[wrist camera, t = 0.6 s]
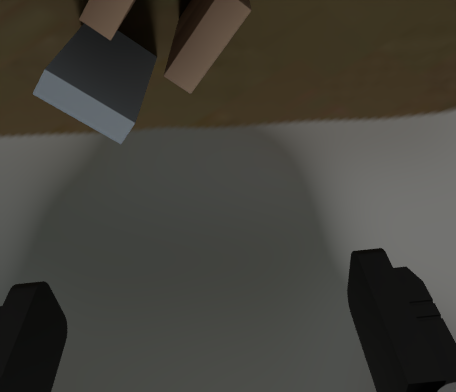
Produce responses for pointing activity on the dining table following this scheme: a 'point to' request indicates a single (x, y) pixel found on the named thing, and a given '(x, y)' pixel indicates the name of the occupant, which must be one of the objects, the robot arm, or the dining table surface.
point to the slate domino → (99, 81)
